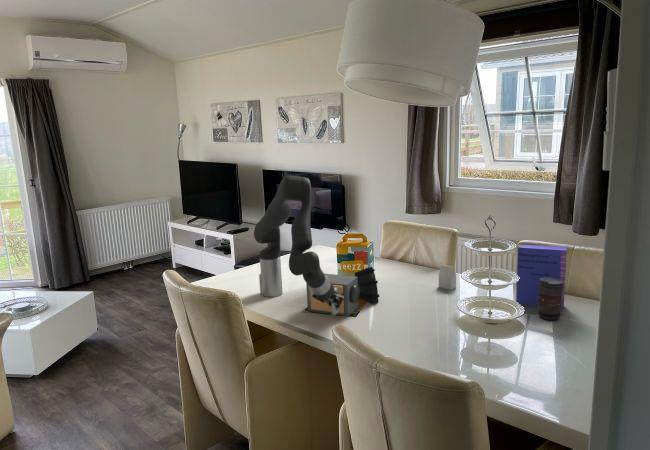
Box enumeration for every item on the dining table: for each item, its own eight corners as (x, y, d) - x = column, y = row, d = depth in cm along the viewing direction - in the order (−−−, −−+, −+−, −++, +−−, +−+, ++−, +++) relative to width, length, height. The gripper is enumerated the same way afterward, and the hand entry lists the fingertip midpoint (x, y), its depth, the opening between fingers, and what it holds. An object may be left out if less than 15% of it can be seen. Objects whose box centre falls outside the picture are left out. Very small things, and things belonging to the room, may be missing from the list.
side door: (304, 312, 203) (302, 286, 201) (310, 307, 208) (309, 282, 205) (338, 317, 197) (337, 290, 194) (343, 312, 201) (342, 285, 199)
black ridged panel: (376, 302, 210) (366, 267, 212) (360, 307, 221) (350, 274, 224) (384, 300, 212) (373, 266, 214) (367, 305, 223) (357, 272, 225)
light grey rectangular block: (451, 290, 226) (451, 268, 224) (438, 286, 231) (438, 265, 229) (456, 288, 228) (456, 266, 226) (443, 284, 233) (443, 263, 231)
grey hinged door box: (307, 310, 209) (305, 278, 206) (319, 301, 218) (317, 271, 216) (351, 316, 200) (350, 283, 198) (362, 307, 210) (361, 275, 207)
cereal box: (563, 305, 203) (566, 246, 198) (563, 309, 198) (566, 249, 194) (517, 300, 210) (518, 244, 205) (516, 304, 206) (518, 246, 201)
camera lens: (550, 324, 185) (552, 285, 182) (532, 317, 192) (534, 279, 189) (565, 319, 188) (568, 281, 185) (547, 313, 195) (549, 275, 192)
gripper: (340, 278, 185) (354, 299, 198) (307, 274, 191) (322, 295, 204) (335, 296, 181) (349, 316, 195) (301, 292, 187) (317, 312, 201)
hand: (335, 305), depth 199 cm, fingers closed on side door
